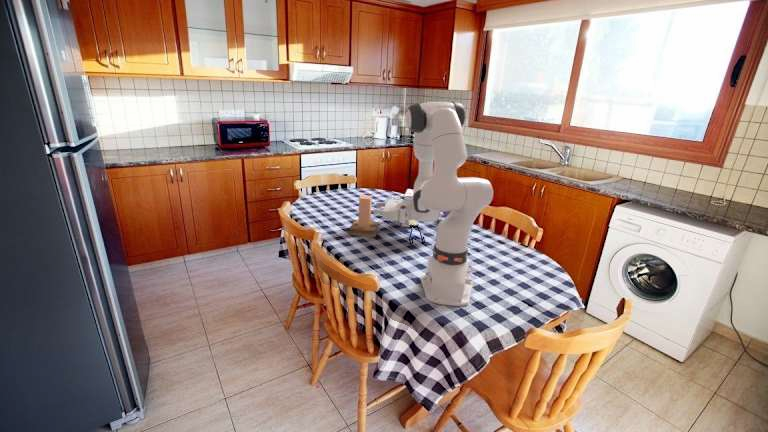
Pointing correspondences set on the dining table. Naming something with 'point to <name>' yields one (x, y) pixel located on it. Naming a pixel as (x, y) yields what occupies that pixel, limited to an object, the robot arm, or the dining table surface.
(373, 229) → the walnut riser
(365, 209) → the terracotta block
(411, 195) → the candy box
